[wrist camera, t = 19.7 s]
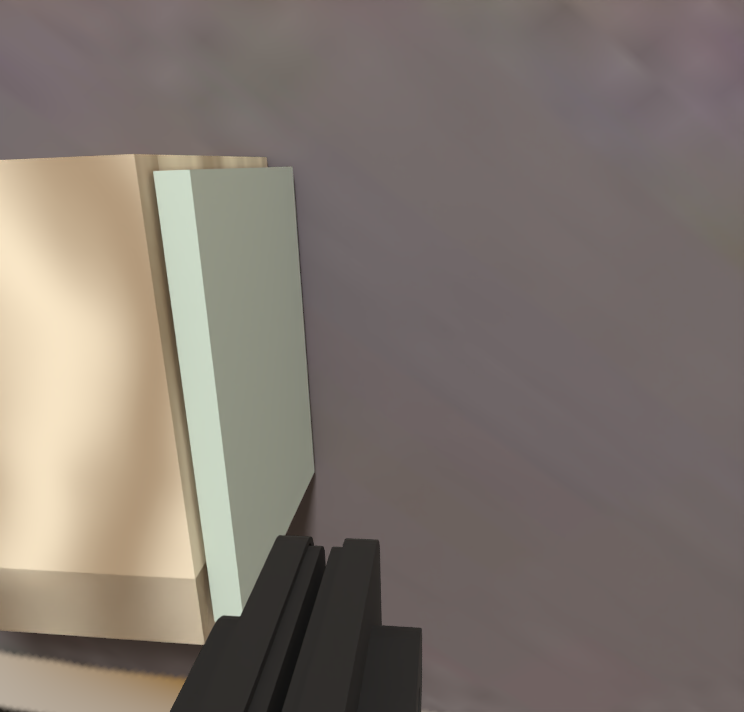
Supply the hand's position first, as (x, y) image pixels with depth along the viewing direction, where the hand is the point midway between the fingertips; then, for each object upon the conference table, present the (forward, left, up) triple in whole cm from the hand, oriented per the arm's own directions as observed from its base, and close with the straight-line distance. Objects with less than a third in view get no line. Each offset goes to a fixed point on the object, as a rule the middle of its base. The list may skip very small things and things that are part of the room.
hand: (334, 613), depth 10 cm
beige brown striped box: (-17, -1, -24) cm, 29 cm away
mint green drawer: (-15, -1, -23) cm, 28 cm away
